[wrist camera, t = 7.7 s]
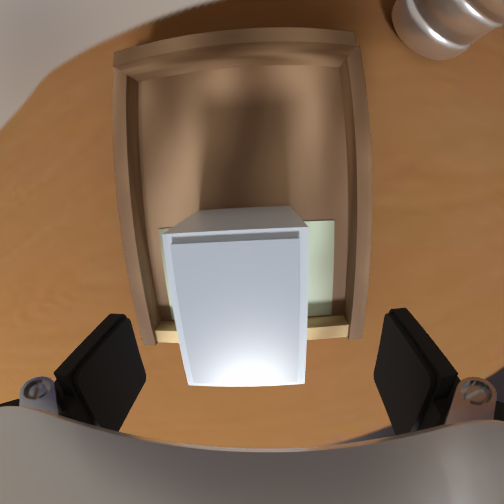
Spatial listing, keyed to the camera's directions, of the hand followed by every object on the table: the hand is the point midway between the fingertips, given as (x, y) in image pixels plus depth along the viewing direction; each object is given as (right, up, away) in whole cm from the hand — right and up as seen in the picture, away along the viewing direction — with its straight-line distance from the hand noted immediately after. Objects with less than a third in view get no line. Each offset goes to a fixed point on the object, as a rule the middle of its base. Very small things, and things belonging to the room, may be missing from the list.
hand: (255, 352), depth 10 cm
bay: (-1, +7, +10) cm, 13 cm away
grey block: (0, +3, +10) cm, 10 cm away
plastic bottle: (+14, +22, +6) cm, 26 cm away
